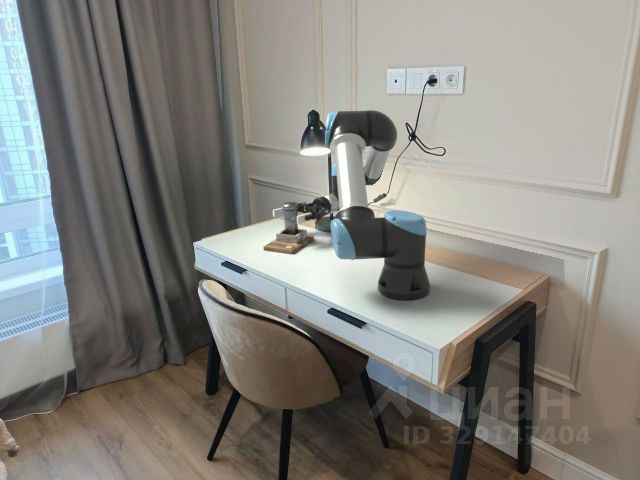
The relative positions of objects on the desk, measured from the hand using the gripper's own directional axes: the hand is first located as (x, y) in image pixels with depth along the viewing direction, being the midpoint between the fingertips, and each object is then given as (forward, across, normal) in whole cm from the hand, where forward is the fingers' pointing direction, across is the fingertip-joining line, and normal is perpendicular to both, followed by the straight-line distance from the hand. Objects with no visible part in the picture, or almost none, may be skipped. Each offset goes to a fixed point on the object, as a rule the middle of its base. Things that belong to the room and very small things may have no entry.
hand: (285, 216), depth 179 cm
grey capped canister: (-3, 0, -10) cm, 10 cm away
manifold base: (-1, -1, -11) cm, 11 cm away
